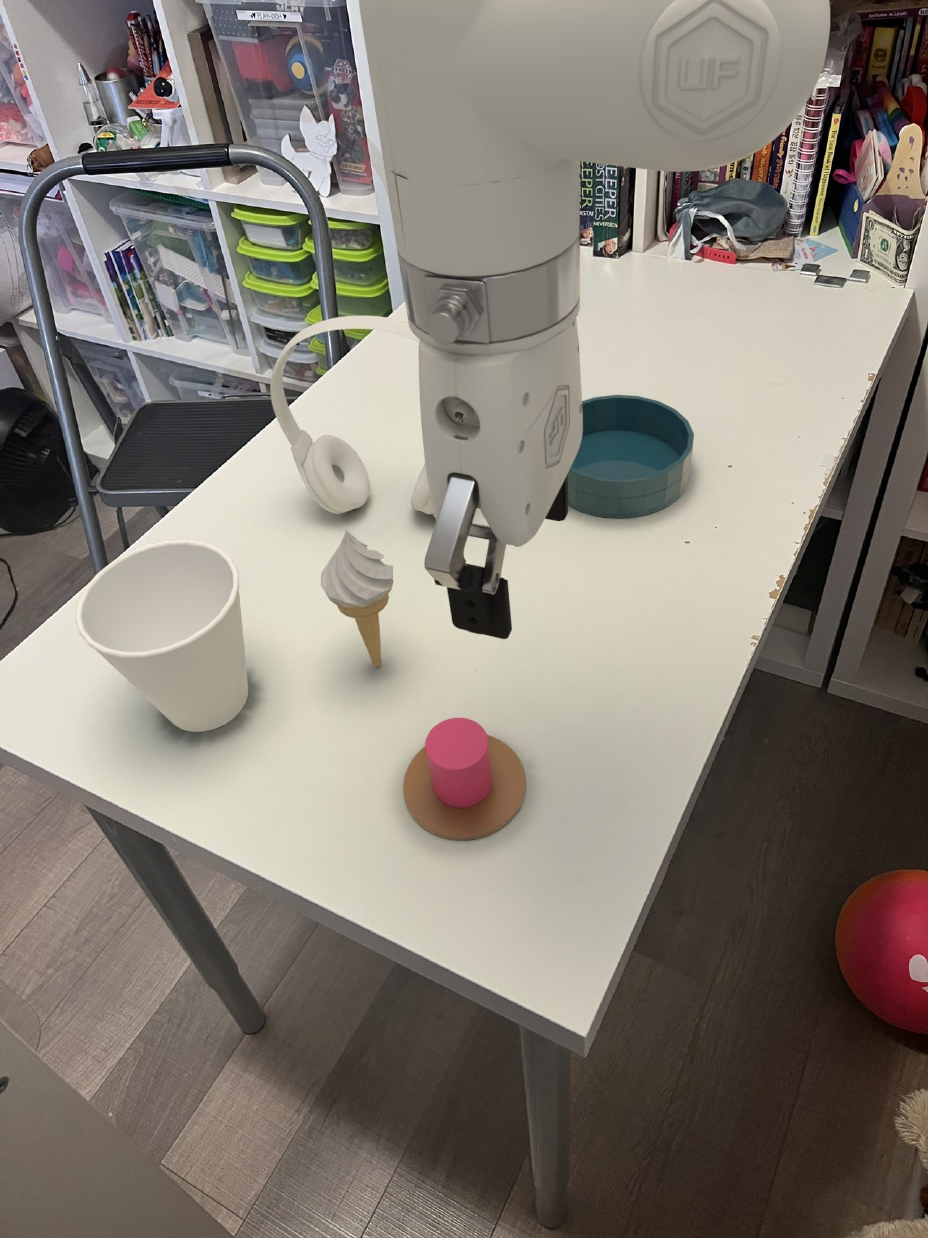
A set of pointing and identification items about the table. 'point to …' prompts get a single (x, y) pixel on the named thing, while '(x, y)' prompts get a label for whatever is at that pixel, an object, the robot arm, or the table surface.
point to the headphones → (329, 459)
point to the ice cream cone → (359, 588)
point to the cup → (172, 629)
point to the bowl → (629, 457)
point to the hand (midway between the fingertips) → (513, 568)
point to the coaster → (474, 818)
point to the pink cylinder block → (459, 762)
